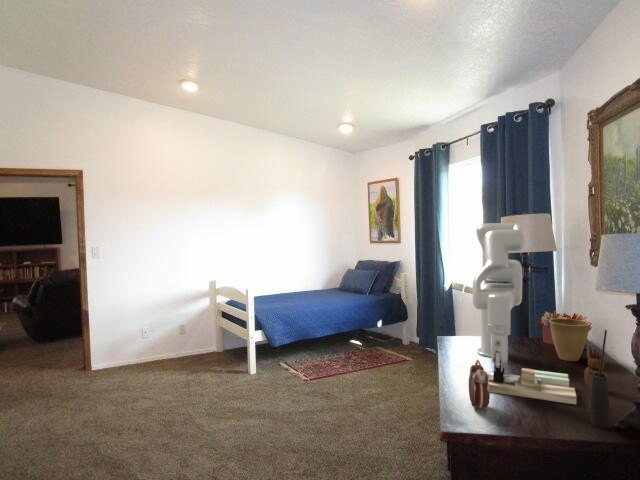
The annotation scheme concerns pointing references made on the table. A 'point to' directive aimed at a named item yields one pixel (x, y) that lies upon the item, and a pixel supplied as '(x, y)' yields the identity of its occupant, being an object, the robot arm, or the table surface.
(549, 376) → the block
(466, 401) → the table surface
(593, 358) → the wooden figurine
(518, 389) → the maple beam
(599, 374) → the butter churn
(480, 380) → the alarm clock
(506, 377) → the steel axle
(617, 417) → the table surface
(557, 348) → the plant pot
